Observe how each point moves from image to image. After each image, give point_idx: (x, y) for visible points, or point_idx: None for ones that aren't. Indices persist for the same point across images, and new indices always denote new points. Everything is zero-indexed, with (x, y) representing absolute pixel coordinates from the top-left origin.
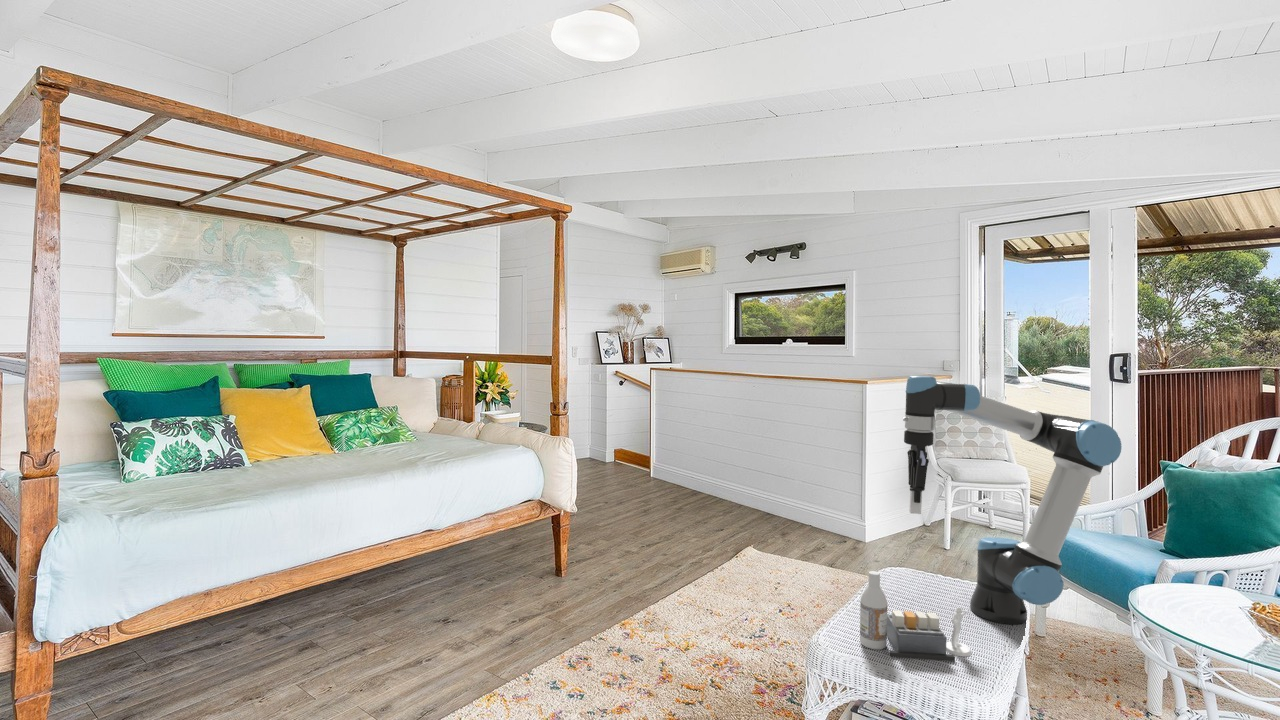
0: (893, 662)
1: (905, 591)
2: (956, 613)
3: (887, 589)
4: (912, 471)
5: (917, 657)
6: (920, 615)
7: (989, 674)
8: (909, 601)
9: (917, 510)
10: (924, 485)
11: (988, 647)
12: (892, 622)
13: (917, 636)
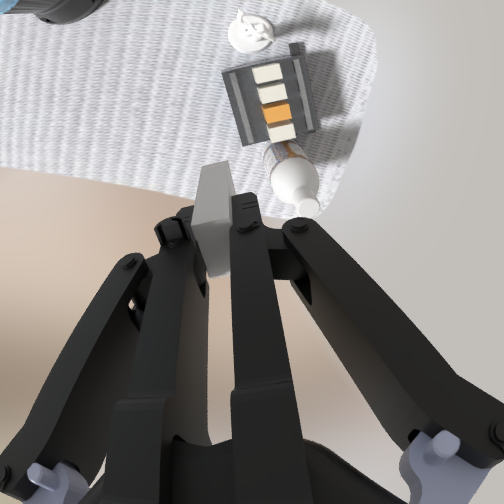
0: (328, 128)
1: (51, 126)
2: (265, 32)
3: (58, 153)
4: (204, 381)
5: None
6: (277, 95)
7: (317, 4)
8: (86, 113)
9: (231, 182)
10: (334, 242)
11: None
12: None
13: (312, 100)
